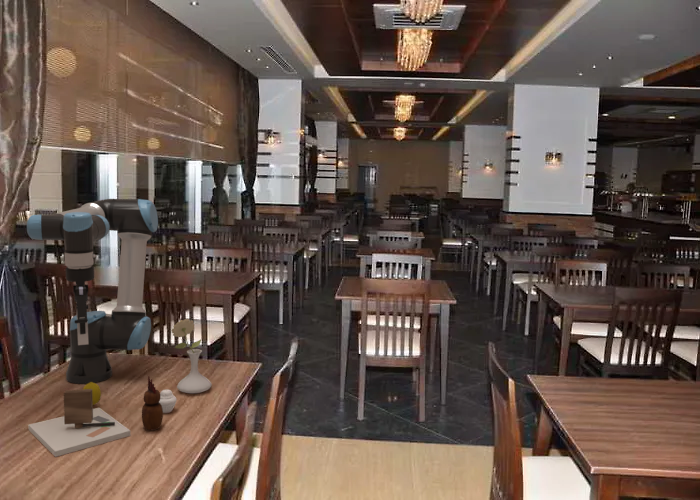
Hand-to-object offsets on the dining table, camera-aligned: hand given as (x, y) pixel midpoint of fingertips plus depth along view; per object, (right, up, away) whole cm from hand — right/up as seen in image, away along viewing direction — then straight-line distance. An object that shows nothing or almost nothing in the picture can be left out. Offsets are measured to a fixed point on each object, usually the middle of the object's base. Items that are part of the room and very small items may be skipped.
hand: (82, 337), depth 179 cm
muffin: (+21, -25, +11) cm, 34 cm away
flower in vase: (+25, -22, +29) cm, 44 cm away
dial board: (+2, -26, -7) cm, 27 cm away
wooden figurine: (+21, -26, -2) cm, 34 cm away
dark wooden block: (+5, -24, -6) cm, 25 cm away
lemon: (-3, -24, +12) cm, 27 cm away
